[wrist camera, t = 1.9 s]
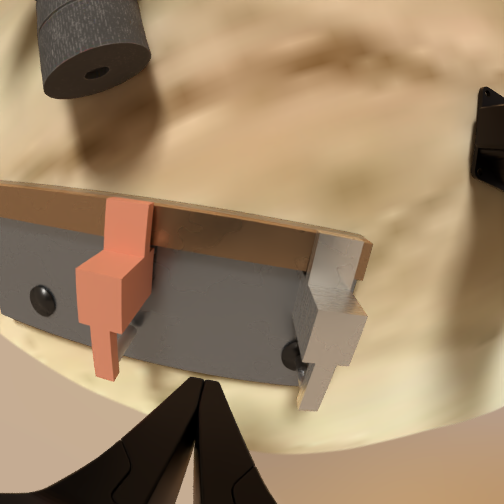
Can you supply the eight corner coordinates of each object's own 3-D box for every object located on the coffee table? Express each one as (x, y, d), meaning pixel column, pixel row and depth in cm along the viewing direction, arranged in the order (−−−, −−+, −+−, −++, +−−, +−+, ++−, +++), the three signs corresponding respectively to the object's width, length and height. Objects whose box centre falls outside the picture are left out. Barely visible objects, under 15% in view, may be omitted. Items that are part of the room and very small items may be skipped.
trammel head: (159, 200, 15) (124, 216, 11) (149, 338, 17) (125, 384, 13) (119, 194, 15) (76, 208, 11) (116, 330, 17) (85, 372, 13)
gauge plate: (361, 231, 17) (404, 263, 11) (316, 376, 20) (331, 437, 14) (1, 177, 16) (-55, 189, 10) (10, 307, 19) (-33, 340, 13)
